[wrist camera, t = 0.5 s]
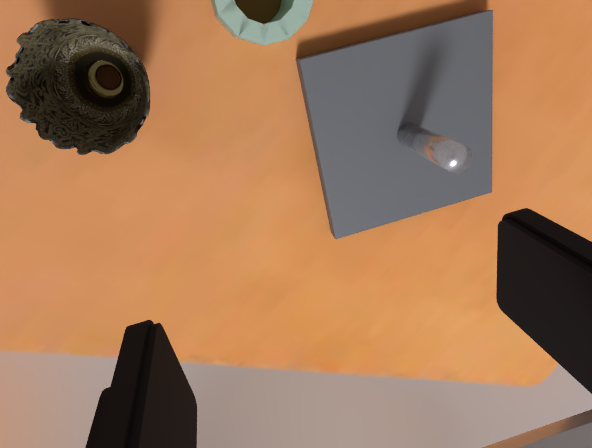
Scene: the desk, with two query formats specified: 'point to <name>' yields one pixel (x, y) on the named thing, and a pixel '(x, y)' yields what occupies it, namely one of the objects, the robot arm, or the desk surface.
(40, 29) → the cup
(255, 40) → the bead
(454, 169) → the rod
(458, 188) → the board
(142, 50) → the desk surface
